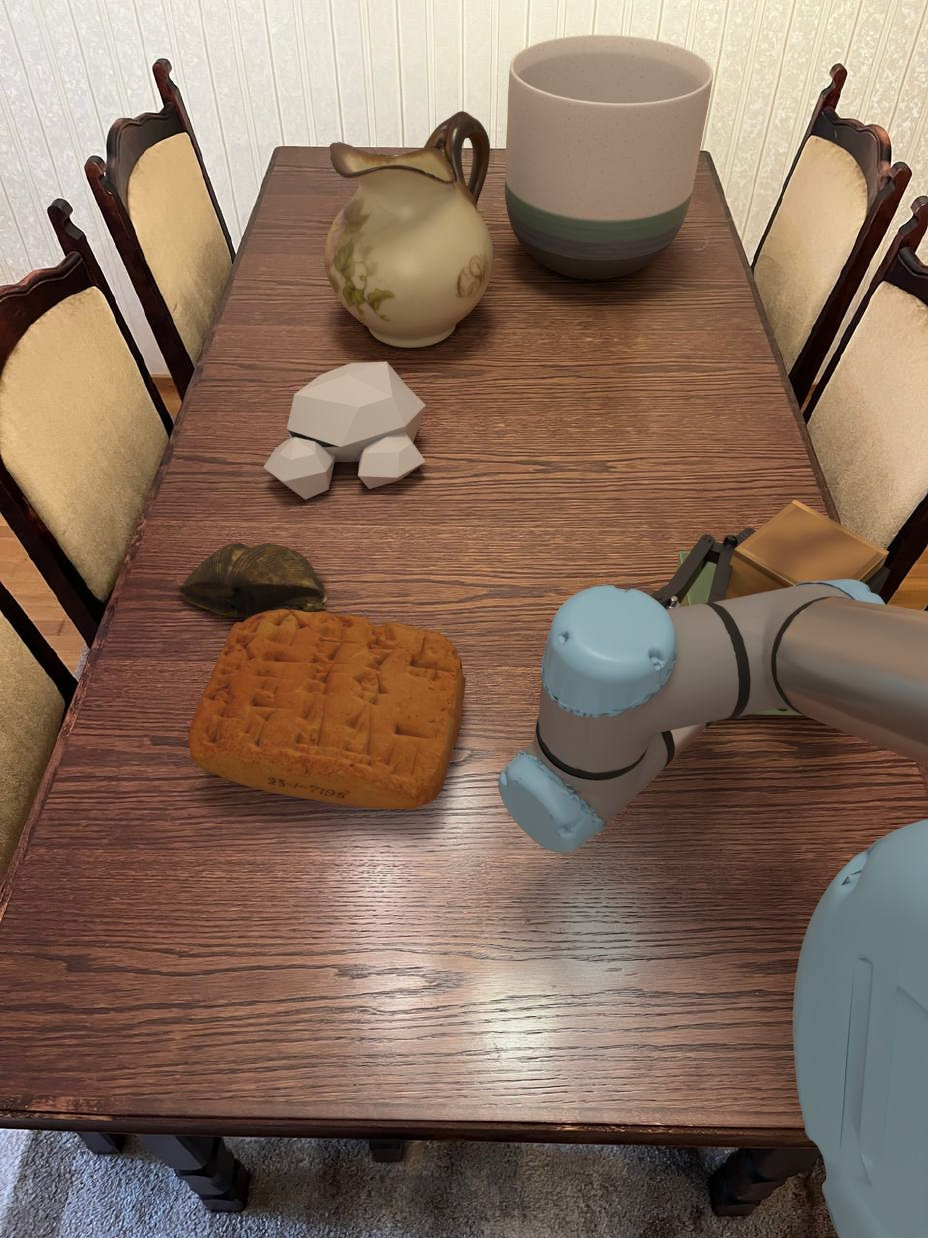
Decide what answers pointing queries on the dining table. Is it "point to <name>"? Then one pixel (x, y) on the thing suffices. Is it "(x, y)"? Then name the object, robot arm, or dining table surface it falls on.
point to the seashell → (254, 581)
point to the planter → (602, 150)
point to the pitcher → (412, 236)
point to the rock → (350, 429)
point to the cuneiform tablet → (332, 709)
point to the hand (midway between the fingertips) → (830, 550)
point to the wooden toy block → (800, 553)
